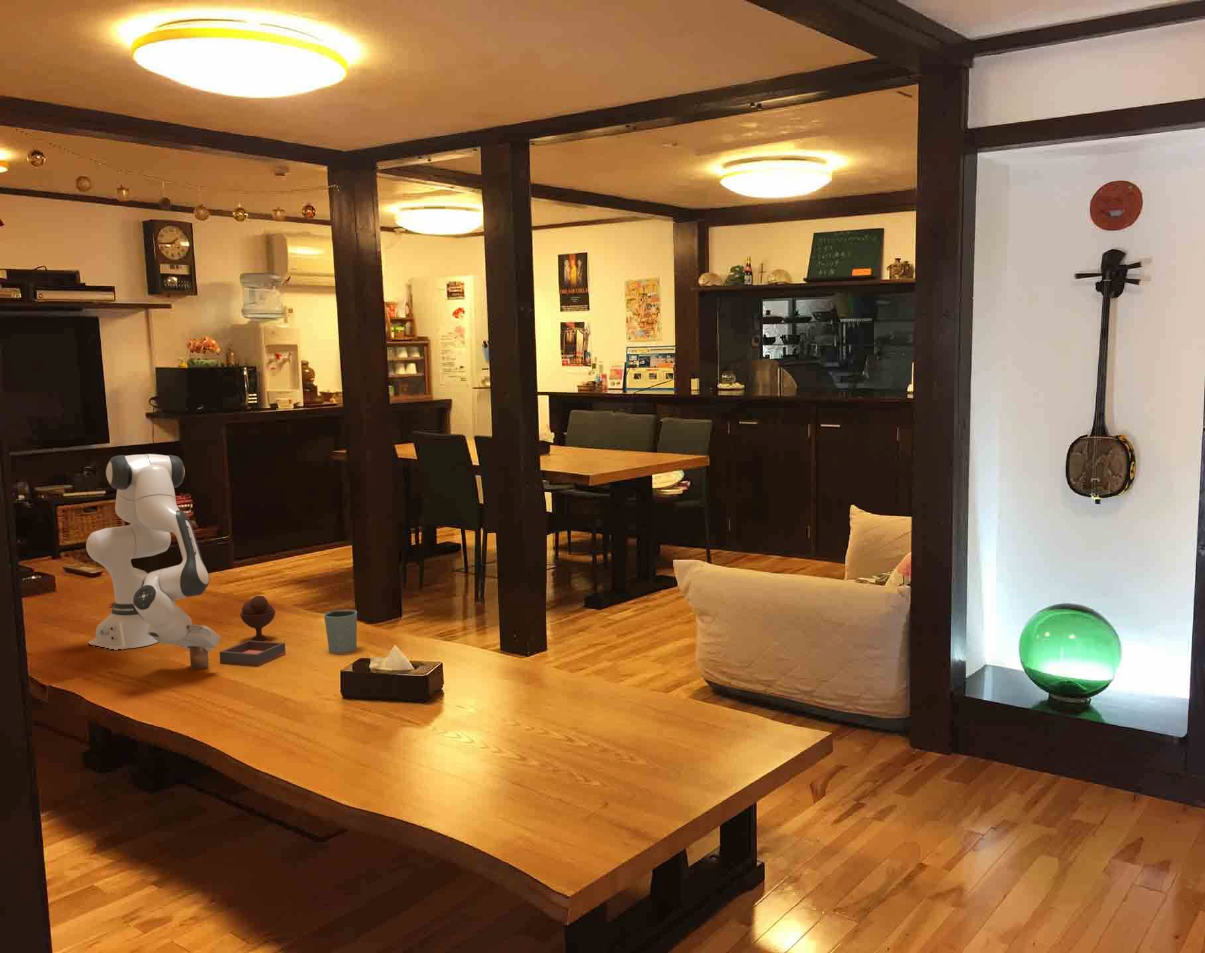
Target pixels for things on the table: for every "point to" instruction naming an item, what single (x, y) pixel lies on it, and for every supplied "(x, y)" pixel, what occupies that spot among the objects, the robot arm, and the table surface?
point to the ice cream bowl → (257, 615)
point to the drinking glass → (341, 631)
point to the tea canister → (198, 658)
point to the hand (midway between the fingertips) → (200, 649)
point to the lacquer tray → (252, 653)
